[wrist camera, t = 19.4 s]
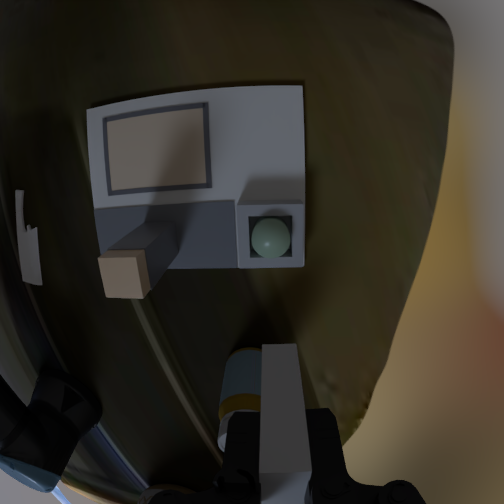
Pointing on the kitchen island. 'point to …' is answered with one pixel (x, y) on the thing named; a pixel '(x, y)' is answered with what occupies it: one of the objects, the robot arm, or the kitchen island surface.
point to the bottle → (240, 387)
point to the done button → (270, 236)
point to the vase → (157, 488)
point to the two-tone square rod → (138, 260)
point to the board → (202, 171)
